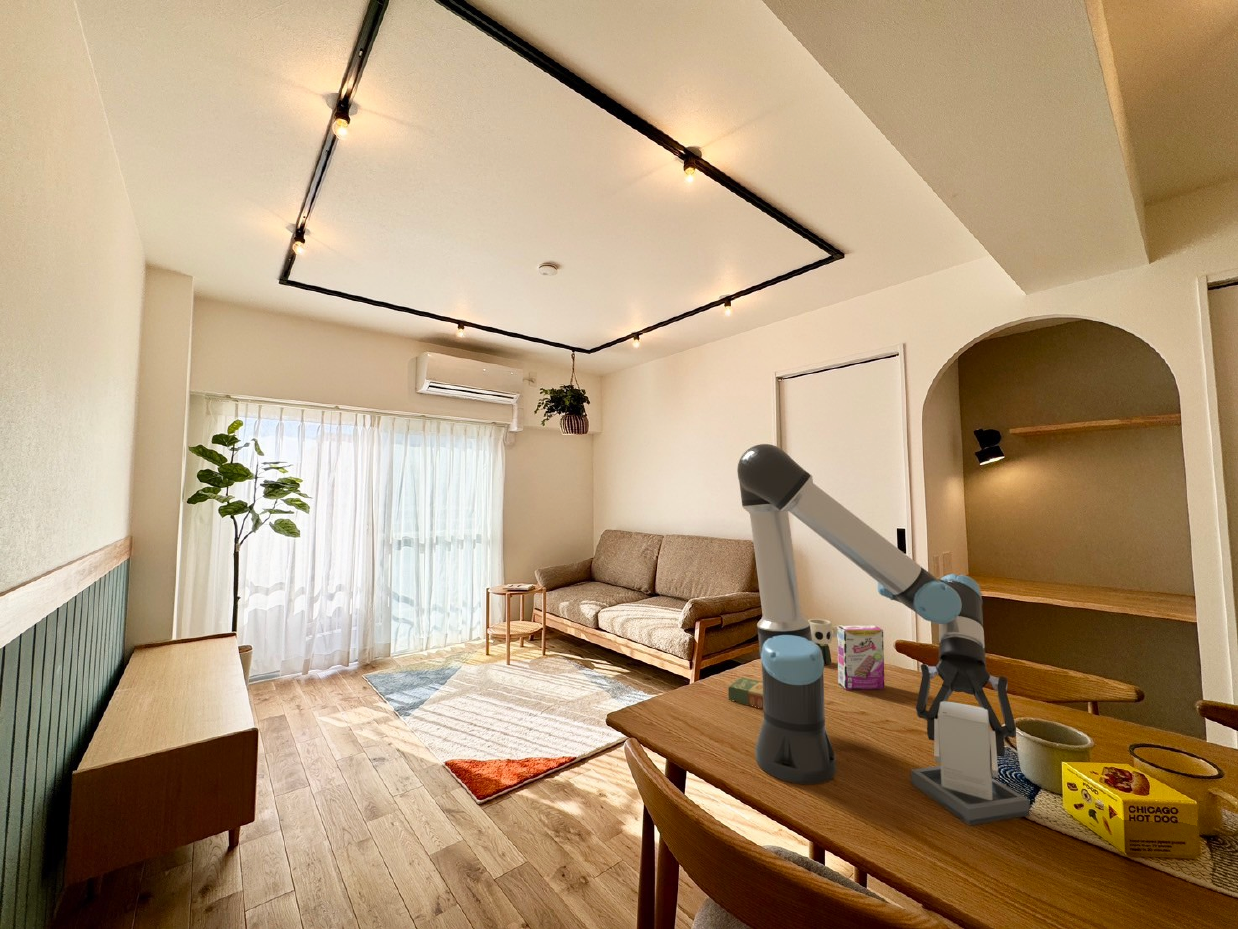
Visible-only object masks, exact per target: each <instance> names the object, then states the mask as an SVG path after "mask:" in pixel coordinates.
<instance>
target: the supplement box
mask: <svg viewBox="0 0 1238 929" xmlns="http://www.w3.org/2000/svg"><path fill="white" fill-rule="evenodd" d="M938 728H939V747H940V763H939V764H940V765H939V766H941V786H942V787H945V788H948V789H952V790H955V791H959V792H962V793H966V794H969V795H972V796H976V797H980V798H983V799H987V800H992V778H993V777H992V762H991V745H990V730H991V727H990V725H989V715H988V710H986V709H984V708H982V707H980V706H976V705H970V704H966V703H959V702H955V701H954V702H953V701H948V700H947V701H943V702H940V706H939V711H938Z"/></svg>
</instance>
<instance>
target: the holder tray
mask: <svg viewBox="0 0 1238 929" xmlns="http://www.w3.org/2000/svg"><path fill="white" fill-rule="evenodd" d="M910 780H911V781H910V782H911V783H910V784H911V785H912V786H913V787H915V788H917V789H918V790H920V791H921V792H922V793H924V794H925V795H926V796H928V797H929V798H931V800H933V801H934V802H936V803H937V804H939V805H940V806H941V807H943V808H945V809H946V811H947V810H948V811H949V813H951V814H952V815H954V816H955V817H957V818H958V819H959V820H961V821H963V823H965V824H966V825H969V826H976V825H981V824H982V825H983V824H987V823H994V822H998V821H1004V820H1010V819H1016V818H1023V817H1029V816H1031V813H1030V812H1031V809H1030V799H1028V798H1027V797H1025V796H1023V795H1022V794H1020V793H1018V792H1017V791H1015V790H1014V789H1013V788H1010V787H1008V786H1007V785H1005V784H1003V783H1002V782H1000V781H998V780H996V779H995V778H994V777H992V800H987V799H983V798H980V797H976V796H972V795H969V794H966V793H962V792H959V791H955V790H952V789H948V788H945V787H942V786H941V766H940V765H937V766H936V765H935V766H934V765H933V766H928V767H922V768H921V767H920V768H915V769H913V768H911V769H910Z"/></svg>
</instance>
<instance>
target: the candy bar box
mask: <svg viewBox="0 0 1238 929" xmlns="http://www.w3.org/2000/svg"><path fill="white" fill-rule="evenodd" d="M836 631H837V636H836V639H837V640H836V642H837V644H836V645H837V683H838V685H839V684H840V685H839V686H841V687H842V688H843V689H844V690H849V691H850V690H856V691H857V690H859V689H861V690H885V661H884V660H885V658H884V656H885V654H884V653H885V652H884V650H885V649H884V630H883V629H882V628H881V627H878V626H876V625H872V624H870V625H869V624H868V625H866V624H865V625H864V624H863V625H854V624H853V625H849V624H848V625H847V624H846V625H844V624H843V625H841V624H840V625H836ZM859 691H860V690H859Z"/></svg>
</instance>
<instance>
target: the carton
mask: <svg viewBox="0 0 1238 929" xmlns="http://www.w3.org/2000/svg"><path fill="white" fill-rule="evenodd" d="M727 693H728V695H727V696H728V700H729V701H730V700H734V701H737V702H740V703H739V704H741V703H743V704H742V705H745V704H747V705H746V706H749V705H753V706H756V707H759V708H758V709H760V708H762V709H761V710H764V709H763V681H760V680H756V679H751V678H746V677H743V676H741V677H740V678H738V679H737V680H736V681H734V682H733V683H731V684H730V685H728V692H727ZM734 701H733V702H734ZM737 702H736V703H737ZM756 707H755V708H756Z"/></svg>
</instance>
